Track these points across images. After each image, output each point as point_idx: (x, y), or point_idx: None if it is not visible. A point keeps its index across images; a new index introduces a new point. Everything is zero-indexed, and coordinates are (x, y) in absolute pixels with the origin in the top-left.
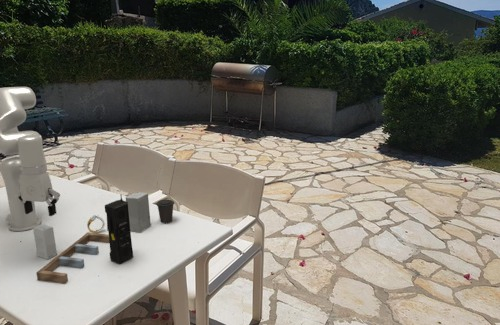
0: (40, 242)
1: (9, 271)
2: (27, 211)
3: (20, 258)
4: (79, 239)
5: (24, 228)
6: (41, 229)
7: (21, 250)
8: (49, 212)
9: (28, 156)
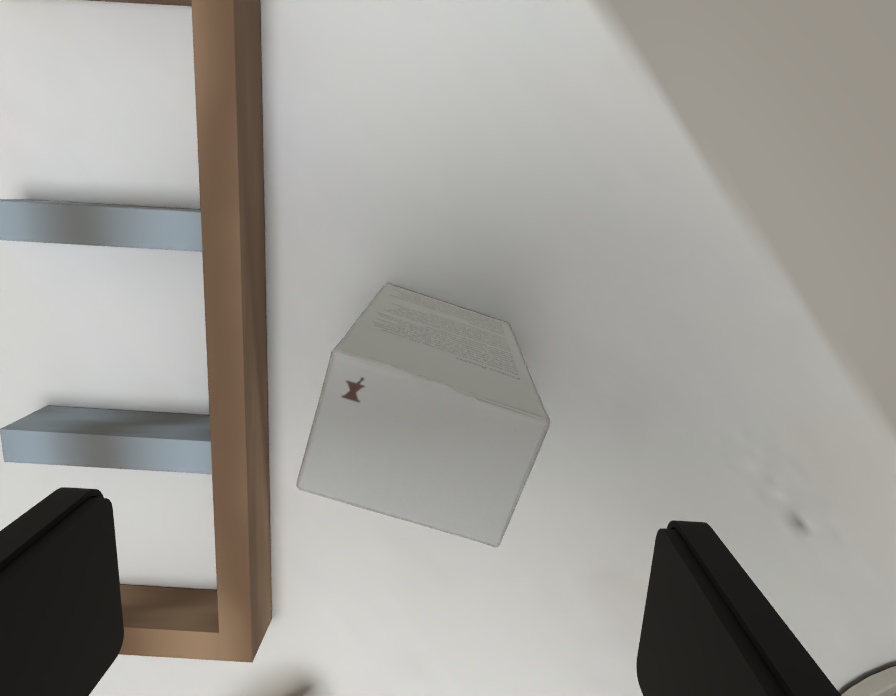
0: (438, 333)
1: (590, 63)
2: (676, 569)
3: (630, 271)
4: (241, 546)
5: (882, 692)
6: (395, 392)
7: (702, 390)
8: (11, 532)
9: None
